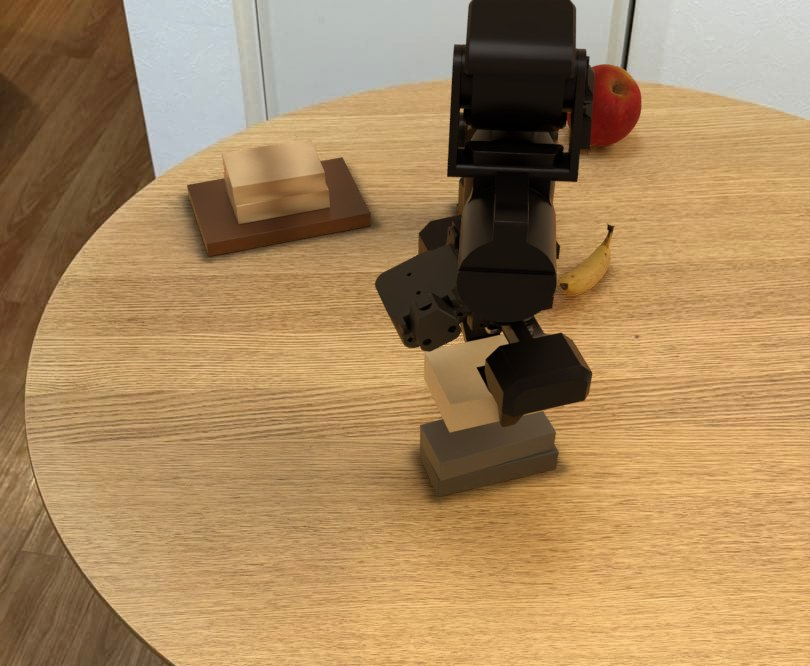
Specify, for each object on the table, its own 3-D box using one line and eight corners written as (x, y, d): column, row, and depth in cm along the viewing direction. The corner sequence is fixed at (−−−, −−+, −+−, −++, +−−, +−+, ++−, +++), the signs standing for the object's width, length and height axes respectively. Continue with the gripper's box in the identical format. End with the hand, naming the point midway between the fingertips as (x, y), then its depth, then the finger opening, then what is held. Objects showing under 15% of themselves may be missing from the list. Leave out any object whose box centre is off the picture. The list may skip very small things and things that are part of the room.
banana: (571, 322, 103) (576, 286, 100) (547, 313, 104) (551, 277, 101) (618, 262, 109) (624, 226, 106) (595, 254, 109) (600, 218, 106)
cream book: (534, 354, 89) (537, 326, 87) (564, 406, 85) (568, 378, 83) (423, 378, 87) (423, 350, 85) (449, 433, 84) (450, 405, 81)
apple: (565, 162, 119) (574, 90, 113) (558, 120, 124) (566, 48, 118) (639, 162, 119) (651, 89, 113) (628, 119, 124) (640, 48, 118)
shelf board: (343, 169, 118) (340, 120, 114) (370, 225, 112) (369, 176, 108) (188, 197, 115) (180, 148, 111) (208, 256, 109) (200, 207, 105)
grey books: (534, 428, 95) (538, 393, 92) (557, 470, 92) (562, 435, 89) (417, 455, 93) (417, 420, 90) (436, 499, 90) (437, 464, 87)
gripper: (347, 163, 79) (355, 338, 91) (434, 336, 67) (429, 510, 79) (500, 135, 81) (488, 310, 93) (609, 299, 69) (579, 474, 82)
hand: (492, 395), depth 87 cm, fingers closed on cream book, 6 cm apart
